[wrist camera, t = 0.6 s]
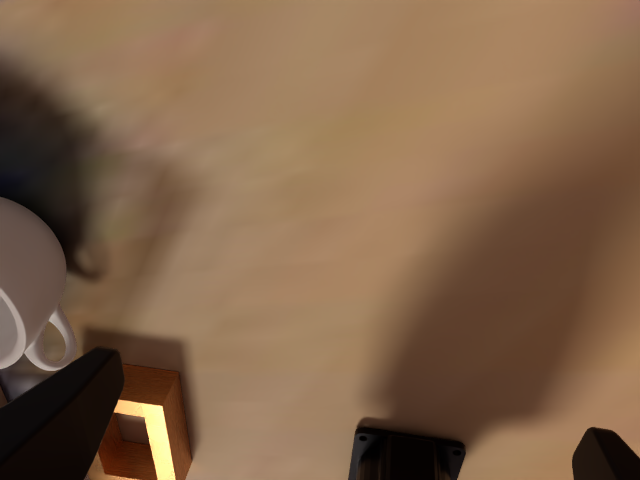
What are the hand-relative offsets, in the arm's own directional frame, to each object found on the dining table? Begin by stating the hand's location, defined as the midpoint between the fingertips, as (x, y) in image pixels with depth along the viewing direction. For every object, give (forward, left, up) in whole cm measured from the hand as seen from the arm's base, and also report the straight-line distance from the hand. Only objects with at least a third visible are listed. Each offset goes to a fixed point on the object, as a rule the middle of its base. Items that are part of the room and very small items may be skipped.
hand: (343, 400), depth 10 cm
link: (-20, +13, -13) cm, 28 cm away
